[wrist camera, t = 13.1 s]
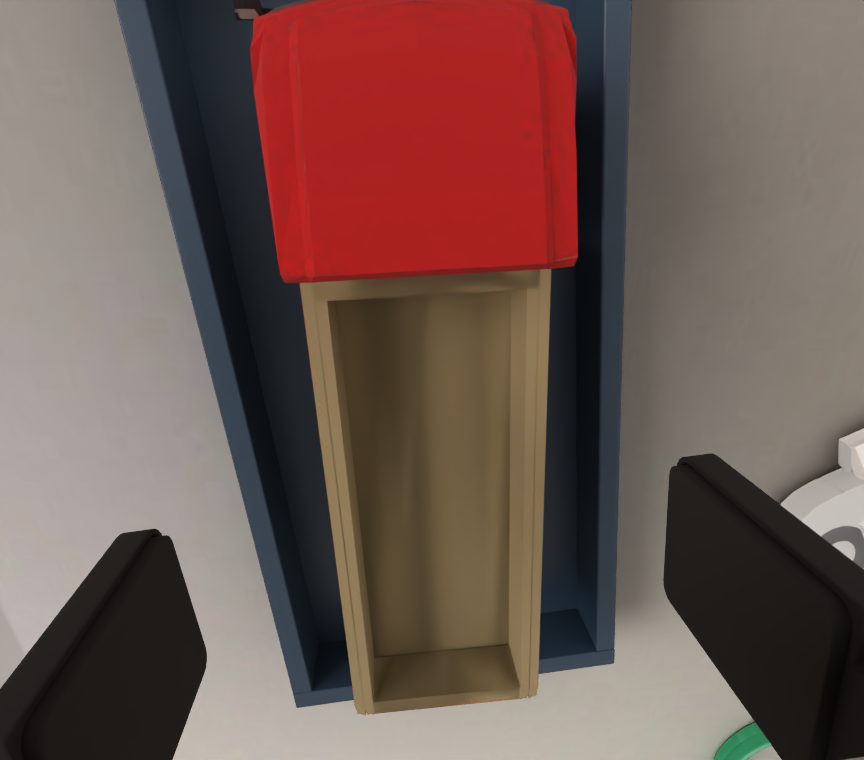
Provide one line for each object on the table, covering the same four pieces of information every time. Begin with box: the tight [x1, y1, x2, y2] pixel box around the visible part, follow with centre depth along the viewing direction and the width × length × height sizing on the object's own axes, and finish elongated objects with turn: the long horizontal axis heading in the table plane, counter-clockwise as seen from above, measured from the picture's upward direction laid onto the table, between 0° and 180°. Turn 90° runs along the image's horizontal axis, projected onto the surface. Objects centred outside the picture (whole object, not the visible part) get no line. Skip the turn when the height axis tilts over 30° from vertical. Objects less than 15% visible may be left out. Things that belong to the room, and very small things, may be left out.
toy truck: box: [233, 0, 578, 715], centre depth 15 cm, size 7×21×10 cm, turn 3°
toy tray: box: [114, 0, 632, 708], centre depth 19 cm, size 28×14×3 cm, turn 6°
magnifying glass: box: [714, 722, 771, 760], centre depth 29 cm, size 15×6×2 cm, turn 133°
